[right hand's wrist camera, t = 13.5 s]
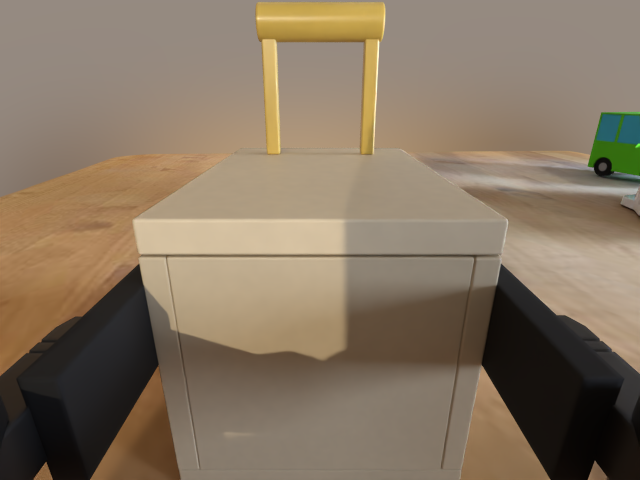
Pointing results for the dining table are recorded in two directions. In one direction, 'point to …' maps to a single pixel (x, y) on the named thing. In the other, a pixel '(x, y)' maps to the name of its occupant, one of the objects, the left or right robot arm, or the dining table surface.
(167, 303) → the chest
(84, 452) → the right robot arm
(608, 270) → the dining table surface
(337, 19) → the lid
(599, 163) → the toy car
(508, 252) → the dining table surface
